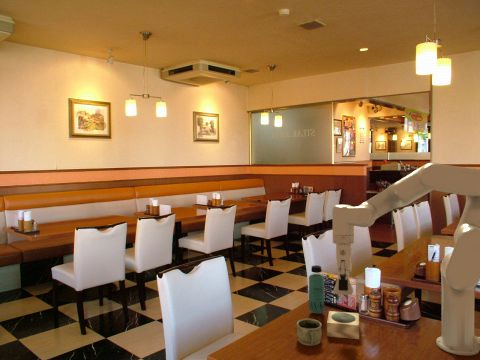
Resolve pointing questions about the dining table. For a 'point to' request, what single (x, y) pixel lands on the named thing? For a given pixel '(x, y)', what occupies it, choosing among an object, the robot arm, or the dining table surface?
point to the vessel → (309, 331)
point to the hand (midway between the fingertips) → (343, 287)
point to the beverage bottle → (316, 290)
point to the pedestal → (343, 325)
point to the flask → (337, 291)
